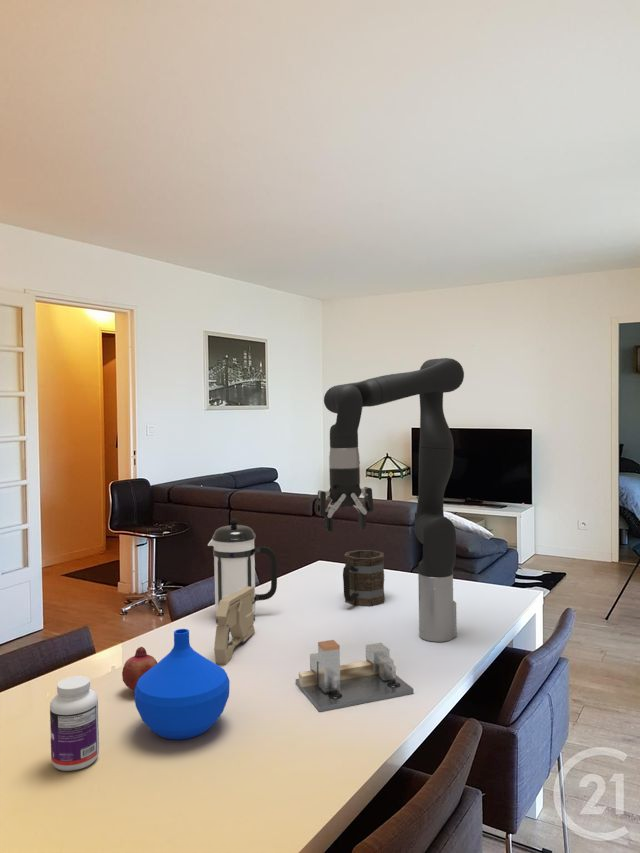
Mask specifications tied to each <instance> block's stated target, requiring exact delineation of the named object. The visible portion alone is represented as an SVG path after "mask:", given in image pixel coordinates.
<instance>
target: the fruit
mask: <svg viewBox="0 0 640 853" xmlns="http://www.w3.org/2000/svg"><path fill="white" fill-rule="evenodd" d="M157 663H158V661H157V660H156V658H155V657H154V656H152V655H151V654H148V653H147V650H146V648H145V647H143V646H140V647H137V649H136V651H135V654H134V655H133V656H132V657H129V658H128V659H127V660H126V661H125V663H124V665H123V666H122V672H121V675H122V682H123V683H124V685H125V686H126V687H127V688H128V689H130V690H132V691H135V688H136V685H137V682H138V680H139V678H140V677H141V676H142V675H143V674H144V673H146V672H147V671H148V670H150V669H151V668H152V667H153V666H155V665H156V664H157Z"/></svg>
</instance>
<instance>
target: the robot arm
mask: <svg viewBox="0 0 640 853" xmlns="http://www.w3.org/2000/svg"><path fill="white" fill-rule="evenodd" d="M464 378H465V371H464V368H463V366H462V364H461V363H460V362H459V361H458V360H456V359H454V358H450V357H442V358H433V359H427V360H426V361H424V362H423V363H422V364H421V366H420V368H419V369H418V370H413V371H407V372H398V373H391V374H386V375H381V376H380V375H379V376H376V377H371V378H368V379H364V380H360V381H357V382H349V383H342V384H338V385H334V386H331V387H330V388H328V390H327V391H326V392H325V394H324V395H323V403H324V406H325V408H326V409H327V410H328V411H329V412H331V413H333V414H336V419H335V420H336V421H335V423H334V424H333V425H331V427H330V429H329V456H328V457H329V458H328V460H329V462H328V463H329V464H328V466H329V468H328V469H329V471H328V472H329V489H328V490H318V491H317V499H316V500H317V501H316V502H317V503H316V505H317V506H316V514H317V515H319V516H322V517H324V529H325V531H327V532H328V533H329V534H333V533H334V518H333V515H334V513H335V512H336V511H338V509H339V508H345V507H354V508H355V509H356V510H357V511H358V514H357V519H358V526H357V527H358V530H361V531H362V530H365V528H366V527H367V514H368V513H370V512H373V511H374V501H373V500H374V499H373V497H374V496H373V489H372V488H371V487H368V486H364V487H363V488H361V473H360V472H361V469H360V468H361V467H360V466H361V461H360V452H359V432H358V431H359V428H360V423H361V419H362V418H361V417H362V412H363V408H365V407H375V406H379V405H380V406H381V405H384V404H388V403H391V402H395V401H396V402H397V401H399V400H403V399H406V398H409V397H413V396H419V410H420V416H419V417H420V418H419V420H420V421H419V442H418V443H419V444H418V446H419V447H418V493H417V494H418V495H417V505H416V511H415V512H416V513H415V519H414V526H413V527H414V528H413V530H414V535H415V537H416V539H417V540H418V541H419V542H420V543H421V544H422V559H421V560H420V561H419V562H418V572H417V573H418V575H417V576H418V635H419V637H420V638H421V639H423V640H425V641H428V642H434V643H435V642H436V643H437V642H438V643H441V642H448V641H451V640H453V639H454V638H457V635H458V634H457V633H458V632H457V628H458V627H457V621H458V620H457V602H456V601H455V600H454V567H455V565H456V561H457V560H456V559H457V558H456V556H457V554H456V553H457V534H456V532H457V531H456V527H455V525H454V523H453V522H452V520H450V518H448V517H445V515H444V498H445V496H444V495H445V492H446V487H447V485H448V482H449V479H450V478H451V477H450V476H451V474H452V471H453V466H454V449H455V446H454V445H455V444H454V438H453V434H452V432H451V430H450V427H449V425H448V422H447V420H446V417H445V414H444V393H445V394H446V393H451V392H454V391H456V390H457V389H459V388H460V387H461V385H462V384H463V382H464ZM360 496H362V497H363V500H364V505H363V503H362V501H361V500H360V499H359V498H360ZM328 497H329V498H330V499H331V500H330V502H329V503H328V505H327V508H326V502H327V501H326V500H328Z"/></svg>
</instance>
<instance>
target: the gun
mask: <svg viewBox="0 0 640 853" xmlns="http://www.w3.org/2000/svg"><path fill="white" fill-rule="evenodd" d="M252 602H254V587H248V586H246V587H244V588H242V589H241V590H239V591H237V592H236V593H234V594H231V595H229V596H227V597H225V598H224V599H222V600H220V602H219V606H218V609H217V613H216V612H215V620H216V619H218V622H217V623H216V624H217V625H216V628H215V637H214V639H215V640H214V648H213V650H214V658H215V664H217V665H225V666H226V665H228V664H229V663H228V662H229V661H230V660H231V657H233V654H234V649H235V648H236V647H238V646H239V645H240V644H243V643H244V642H246V641H247V640H248V639H250V638H251V637H252V636H254V634H255V633H256V631H255V626H254V624H255V623H254V622H255V621H254V617H255V616H254V614H255V613H254V612H255V611H254V612H253V611H252ZM230 635H231V641H230Z"/></svg>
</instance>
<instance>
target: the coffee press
mask: <svg viewBox="0 0 640 853" xmlns="http://www.w3.org/2000/svg"><path fill="white" fill-rule="evenodd" d="M229 523H230V525H225V526H221V527H218V528H217V529H216V530H215V531H214V533H213V535H212V538H211V540H209V542H208V543H207V546H208V547H213V548H212V550H213V551H212V552H213V553H212V555H213V558H214V559H213V566H214V568H213V570H214V574H213V575H214V609H215V614H216V613H217V609H218V606H219V602H220V600H222V599H224V598H225V597H227V596H229V595H231V594H234V593H236V592H237V591H239V590H241V589H242V588H244V587H246V586H248V587H254V602H252V611H253V612H255V610H256V602H258V601H265V600H269V599H271V598H272V597H273V596H274V595H275V594H276V592H277V588H278V569H277V567H278V566H277V558H276V554H275V552H274V551H273V550H272V549H271V548H270V547H267V546H256V545H255V539H256V537H257V536H256V533H255V532H254V530H253V529H252V527H249V526H247V525H242V524H238V519H237V518H235V517H232V518H231V519H230V521H229ZM256 553H261V554H266V555H267V556H268V557H269V559H270V576H271V577H270V580H271V582H270V589H269V590H268V592H266V593H260V594H259V593H257V594H256V571H255V570H256V569H255V568H256V563H255V558H256V557H255V555H256ZM255 621H256V617H255V616H254V622H255ZM217 622H218V619H216V618H215V624H217Z"/></svg>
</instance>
